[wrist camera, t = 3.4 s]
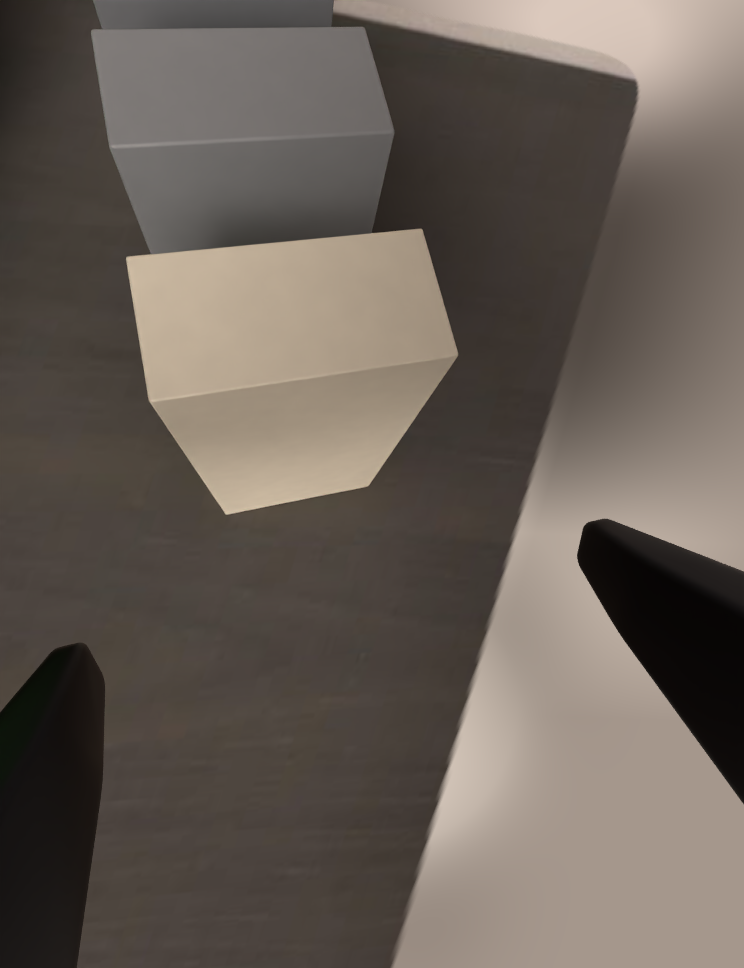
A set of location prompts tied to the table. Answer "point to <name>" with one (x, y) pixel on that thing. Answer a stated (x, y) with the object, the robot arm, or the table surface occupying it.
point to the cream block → (291, 358)
